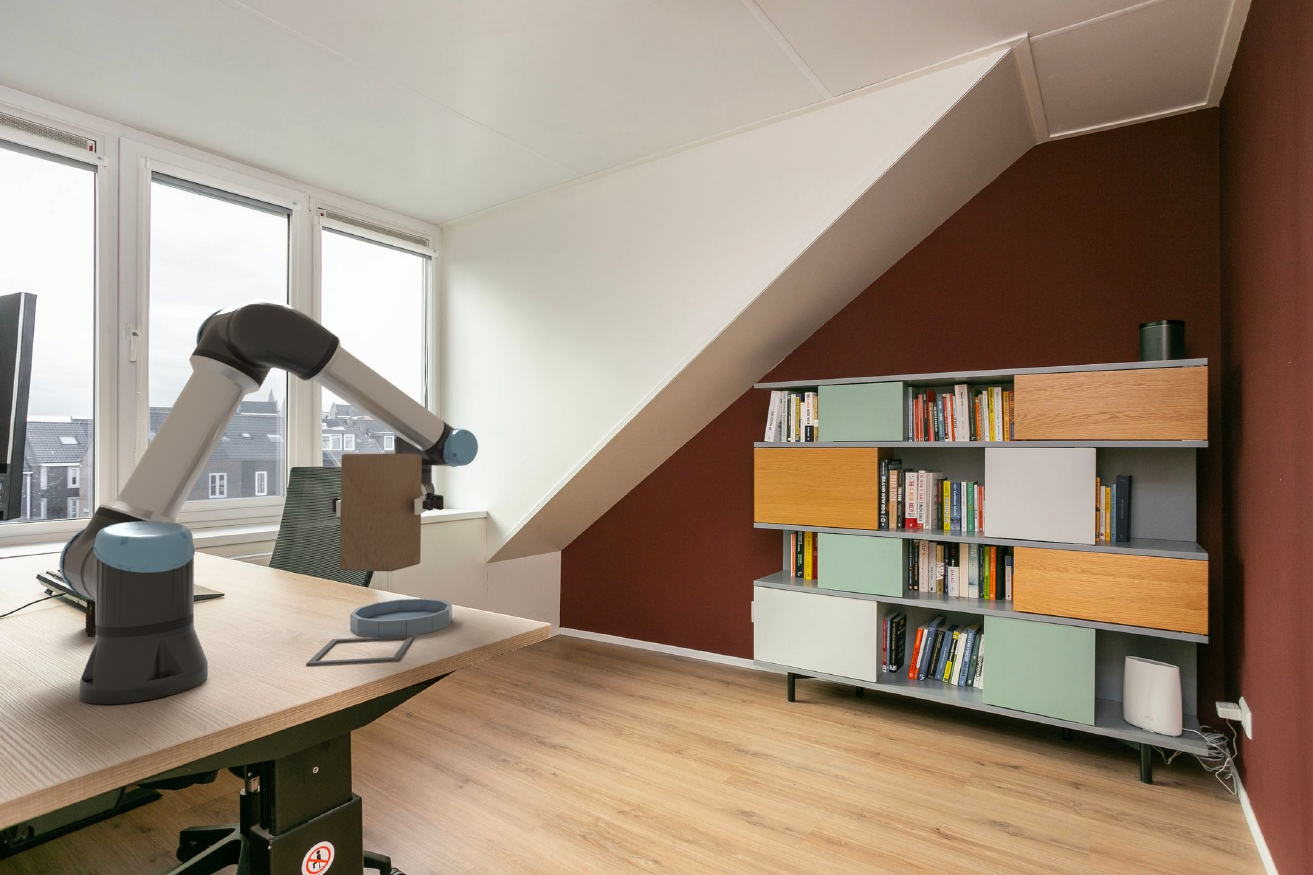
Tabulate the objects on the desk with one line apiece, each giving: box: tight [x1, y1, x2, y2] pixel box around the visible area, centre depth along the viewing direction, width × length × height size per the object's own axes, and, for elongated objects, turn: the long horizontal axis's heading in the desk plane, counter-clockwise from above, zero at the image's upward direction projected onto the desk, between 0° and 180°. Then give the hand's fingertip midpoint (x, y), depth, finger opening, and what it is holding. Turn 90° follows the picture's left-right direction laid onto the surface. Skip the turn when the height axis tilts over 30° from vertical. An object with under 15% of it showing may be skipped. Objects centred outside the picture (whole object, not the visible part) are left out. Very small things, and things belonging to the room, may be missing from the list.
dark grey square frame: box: [305, 635, 416, 667], centre depth 121 cm, size 14×14×1 cm
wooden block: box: [339, 453, 422, 572], centre depth 127 cm, size 10×10×20 cm
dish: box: [349, 598, 453, 638], centre depth 138 cm, size 18×18×3 cm
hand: (378, 507), depth 124 cm, fingers closed on wooden block, 12 cm apart
